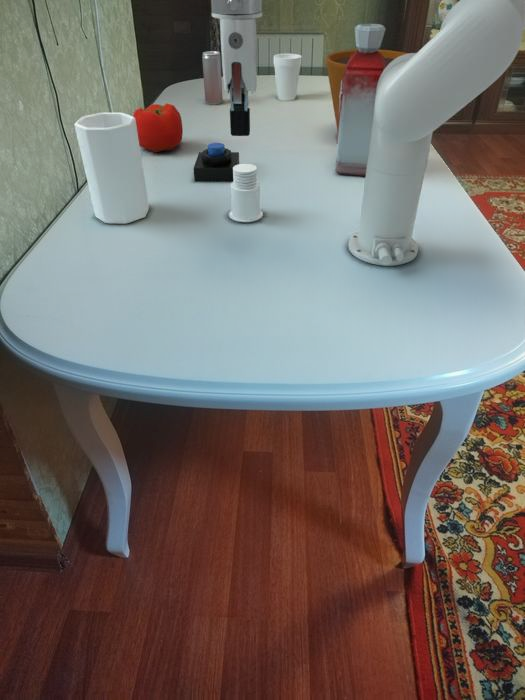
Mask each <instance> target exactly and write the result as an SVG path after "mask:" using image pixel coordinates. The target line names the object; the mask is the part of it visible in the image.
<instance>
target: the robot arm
mask: <svg viewBox="0 0 525 700" xmlns="http://www.w3.org/2000/svg"><path fill="white" fill-rule="evenodd" d="M210 4H211V6H210V9H211V17H212V18H214V19H219V32H220V33H219V35H220V51H221V52H220V54H221V69H222V80H223V89H224V91H225V93H227V94H229V100H230V101H229V102H230V103H229V104H230V108H229V123H230V125H229V126H230V127H229V128H230V135H231V136H232V137H249V136H250V133H251V115H250V114H251V112H250V111H251V110H250V107H249V92H251V94H255V93H256V91H257V87H258V57H257V56H258V53H257V47H258V45H257V41H258V40H257V23H256V19H259V18H262V17H263V0H210ZM440 25H441V26H440V28H439V31H438V32H437V33H436V34H435V35H434V36H433V37H432V38H431V39H430V40H429V41H427V42H426V44H424V45H423V46H422V48H421V49H419V50H418V51H417V52H410V53H408V54H404V55H401V56H399V57H397V58H396V59H394V60H393V61H392V62H390V63H389V64H388V65H387V67H386V68H385V69H384V71H383V72H382V74H381V76H380V78H379V81H378V84H377V88H376V95H375V107H374V116H373V125H372V133H371V140H370V148H369V156H368V162H367V170H366V176H365V177H364V186H363V187H364V188H363V195H362V202H361V210H360V218H359V219H360V220H359V226H358V231H357V232H355V233H353V234H352V235H351V236H350V237H349V239H348V250H349V252H350V253H351V254H352V255H353V256H354V257H355V258H357V259H358V260H361V261H363V262H365V263H368V264H372V265H377V266H384V267H385V266H387V267H388V266H389V267H390V266H391V267H392V266H400V265H404V264H407V263H409V262H411V261H413V260H414V259H415V258H416V257H417V255H418V252H419V244H418V243H417V241H416V240H415V239H414V238H413V232H414V228H415V223H416V217H417V213H418V209H419V208H418V207H419V203H420V198H421V193H422V188H423V183H424V178H425V173H426V169H427V166H428V160H429V155H430V150H431V145H432V139H433V133H434V131H436V130H437V129H439V128H440V127H441V126H442V125H444V124H445V123H446V122H447V121H448V120H450V119H451V118H453V116H455V115H456V114H457V113H459V112H460V111H462V109H463V108H465V107H466V106H467V105H468V104H470V103H472V101H474V99H475V98H477V97H478V96H479V95H481V94H482V93H483V92H484V91H486V90H487V89H488V88H490V87H491V85H493V84H494V83H495V82H496V81H497V80H498V79H499V78H500V77H501V76H502V75H503V74H504V73H505V72H506V71H507V70H508V68H509V67H510V66H511V64H512V63H513V62H514V60H515V58H516V56H517V55H518V53H519V50H520V47H521V45H522V39H523V33H524V31H525V0H459V1H458V2H456V3H455V4H454V5H453V6H452V7H451V8H450V9H449V10H448V11H447V13H446V15H445V17H444V18H443V20H442V22H441V24H440Z"/></svg>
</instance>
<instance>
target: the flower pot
mask: <svg viewBox="0 0 525 700" xmlns="http://www.w3.org/2000/svg"><path fill="white" fill-rule="evenodd" d="M356 51H358V49H357V48H356V49H345V50H338V51H334V52H331V53H328V54H327V55H326V57H325V65H326V70H327V77H328V82H329V89H330V94H331V101H332V107H333V112H334V118H335V124H336V130H337V133H338V132H339V126H338V113H339V102H340V99H339V95H340V90H341V81H342V79H343V77H344V71H345V68H346V66H347V63H348V61H349V59H350V57H351V55H353V54H354V53H355V52H356ZM377 51H378V52H380V53H381V54H382V55H383V56H384V60H385V61H386V67H387V65H388V64H389V63H390V62H392V61H393V60H394V59H396V58H397V57H399V56H401V55H404V54H409V53H408V52H404V51H397V50H389V49H378V50H377Z"/></svg>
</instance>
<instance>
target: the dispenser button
mask: <svg viewBox="0 0 525 700" xmlns="http://www.w3.org/2000/svg"><path fill="white" fill-rule="evenodd" d="M225 148H226V146H225V144H224V143H222V142H211V143H208V144H207V149H208V154H209V155H213V156H218V155H223V154H225Z"/></svg>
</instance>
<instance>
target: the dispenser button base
mask: <svg viewBox="0 0 525 700" xmlns="http://www.w3.org/2000/svg"><path fill="white" fill-rule="evenodd" d="M238 164H240V151H232V150H230V149H229V148H226V147H225V154H223V155H218V156H213V155H209V154H208V148H206V149H203V150H202V151H199V152H198V153H197V156H196V160H195V163H194V165H193V176H194V179H193V180H194V182H227V183H228V182H229V183H230V182H231V183H232V182H233V167H234V166H235V165H238Z"/></svg>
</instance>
